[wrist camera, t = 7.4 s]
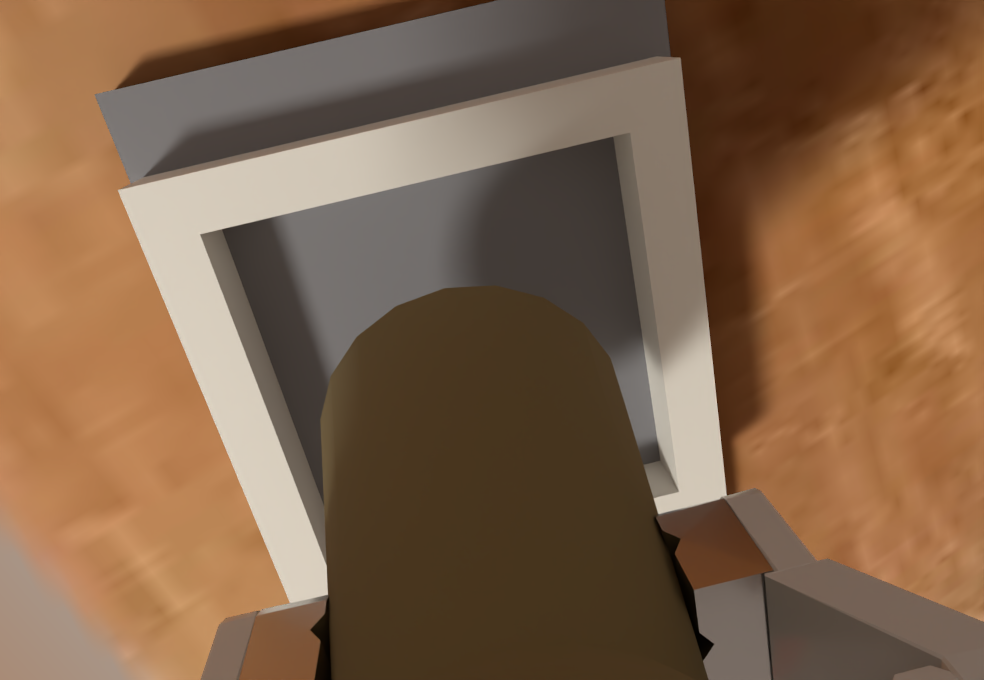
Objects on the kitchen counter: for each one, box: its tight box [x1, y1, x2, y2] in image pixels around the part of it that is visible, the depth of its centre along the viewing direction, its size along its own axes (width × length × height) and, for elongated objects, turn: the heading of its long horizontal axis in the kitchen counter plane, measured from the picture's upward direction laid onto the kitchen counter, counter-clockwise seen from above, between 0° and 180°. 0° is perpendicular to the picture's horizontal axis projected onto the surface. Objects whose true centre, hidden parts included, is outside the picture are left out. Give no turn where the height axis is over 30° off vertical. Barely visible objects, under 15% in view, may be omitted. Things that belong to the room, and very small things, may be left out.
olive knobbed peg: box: [320, 285, 709, 680], centre depth 10 cm, size 6×6×11 cm
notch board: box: [95, 0, 727, 603], centre depth 18 cm, size 15×12×2 cm
